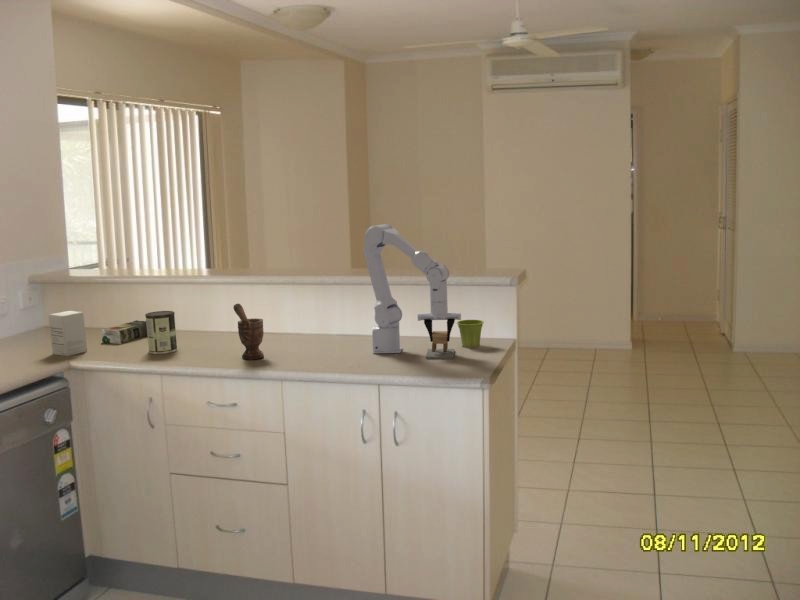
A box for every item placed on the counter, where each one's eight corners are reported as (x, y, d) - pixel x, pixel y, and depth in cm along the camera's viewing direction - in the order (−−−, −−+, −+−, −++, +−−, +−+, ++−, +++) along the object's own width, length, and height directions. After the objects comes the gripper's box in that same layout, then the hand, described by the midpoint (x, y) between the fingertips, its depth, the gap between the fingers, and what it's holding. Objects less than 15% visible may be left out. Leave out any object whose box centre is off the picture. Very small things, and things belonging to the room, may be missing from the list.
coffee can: (167, 347, 331) (164, 309, 329) (182, 350, 324) (180, 312, 322) (142, 351, 324) (139, 313, 321) (158, 355, 317) (155, 316, 314)
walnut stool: (433, 348, 304) (433, 331, 303) (447, 348, 304) (447, 331, 303) (431, 351, 298) (431, 334, 297) (446, 352, 297) (446, 334, 296)
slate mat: (425, 359, 295) (425, 356, 295) (428, 351, 307) (428, 349, 307) (453, 358, 294) (452, 356, 294) (454, 351, 306) (454, 348, 306)
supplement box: (73, 349, 333) (69, 310, 330) (87, 351, 328) (84, 311, 325) (51, 354, 325) (47, 314, 323) (66, 356, 320) (62, 315, 318)
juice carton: (119, 345, 339) (118, 329, 338) (99, 343, 344) (98, 328, 343) (154, 335, 357) (153, 320, 356) (135, 334, 361) (134, 319, 361)
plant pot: (482, 349, 308) (482, 324, 307) (455, 348, 310) (455, 324, 308) (485, 343, 317) (485, 319, 316) (459, 343, 319) (458, 319, 318)
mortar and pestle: (258, 362, 299) (254, 304, 296) (233, 362, 300) (229, 304, 297) (268, 355, 310) (264, 298, 307) (244, 355, 312) (240, 299, 309)
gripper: (416, 303, 295) (417, 343, 297) (460, 302, 293) (461, 343, 295) (417, 300, 302) (419, 339, 304) (460, 299, 300) (461, 338, 302)
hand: (440, 341), depth 300 cm, fingers closed on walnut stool, 5 cm apart
